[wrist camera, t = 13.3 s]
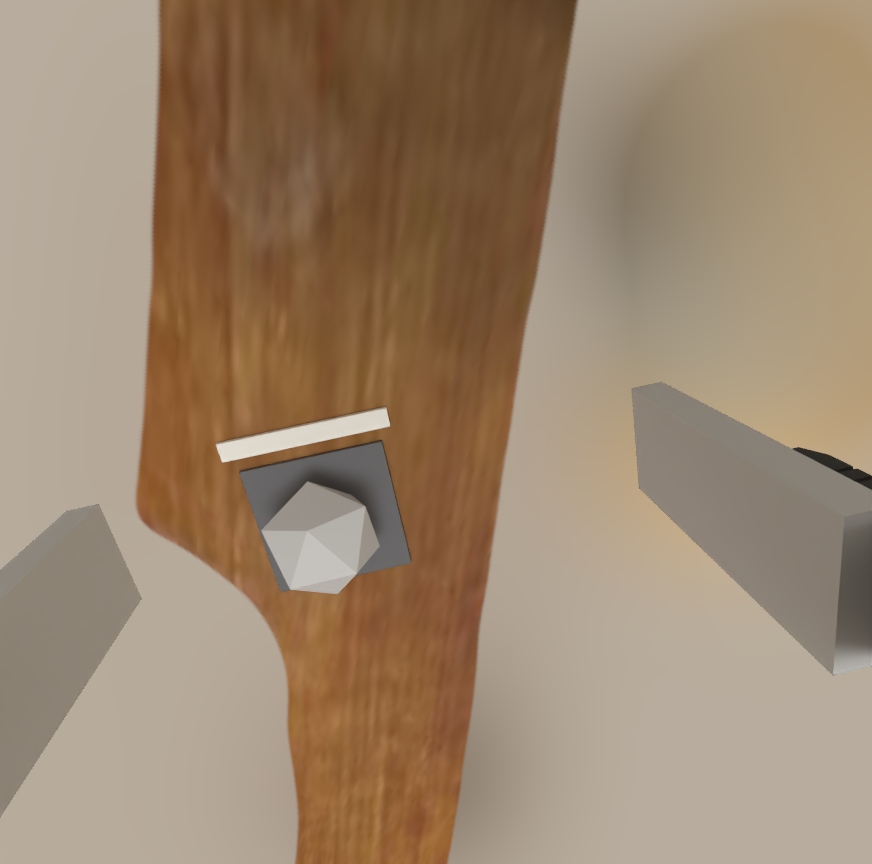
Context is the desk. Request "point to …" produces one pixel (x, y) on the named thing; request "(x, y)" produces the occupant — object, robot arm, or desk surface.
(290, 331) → the desk surface
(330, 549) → the die
